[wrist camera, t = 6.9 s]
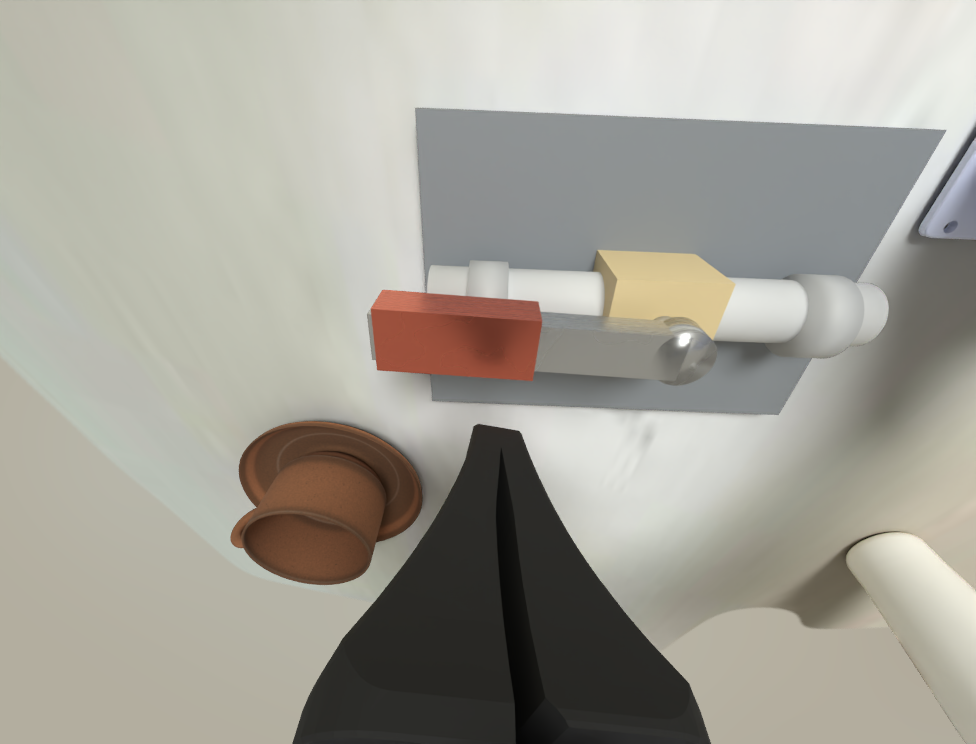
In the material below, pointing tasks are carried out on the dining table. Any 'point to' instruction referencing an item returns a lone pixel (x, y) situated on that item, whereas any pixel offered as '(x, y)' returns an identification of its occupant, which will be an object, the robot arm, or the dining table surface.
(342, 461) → the cup and saucer
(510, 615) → the robot arm
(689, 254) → the valve board
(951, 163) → the dining table surface
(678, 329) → the valve lever
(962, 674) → the drinking glass
